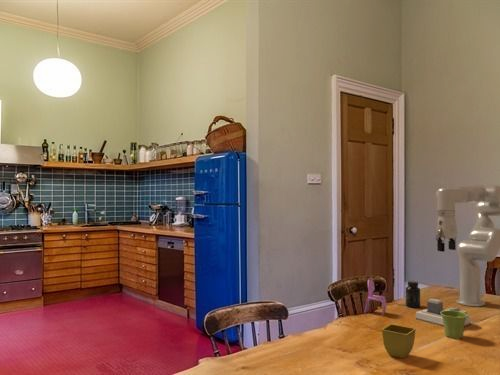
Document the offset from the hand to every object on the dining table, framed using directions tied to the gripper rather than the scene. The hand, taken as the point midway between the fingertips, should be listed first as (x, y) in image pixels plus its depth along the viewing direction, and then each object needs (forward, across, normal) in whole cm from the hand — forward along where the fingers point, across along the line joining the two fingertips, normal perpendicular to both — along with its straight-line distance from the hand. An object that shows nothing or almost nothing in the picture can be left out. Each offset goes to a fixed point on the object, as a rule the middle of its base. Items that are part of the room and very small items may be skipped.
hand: (446, 250), depth 203 cm
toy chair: (+29, -30, +18) cm, 45 cm away
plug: (+28, -18, -4) cm, 33 cm away
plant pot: (+28, -33, -21) cm, 48 cm away
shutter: (+25, -18, -13) cm, 34 cm away
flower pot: (+29, -67, -20) cm, 76 cm away
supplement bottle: (+28, -6, +14) cm, 32 cm away
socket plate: (+28, -18, -8) cm, 34 cm away
